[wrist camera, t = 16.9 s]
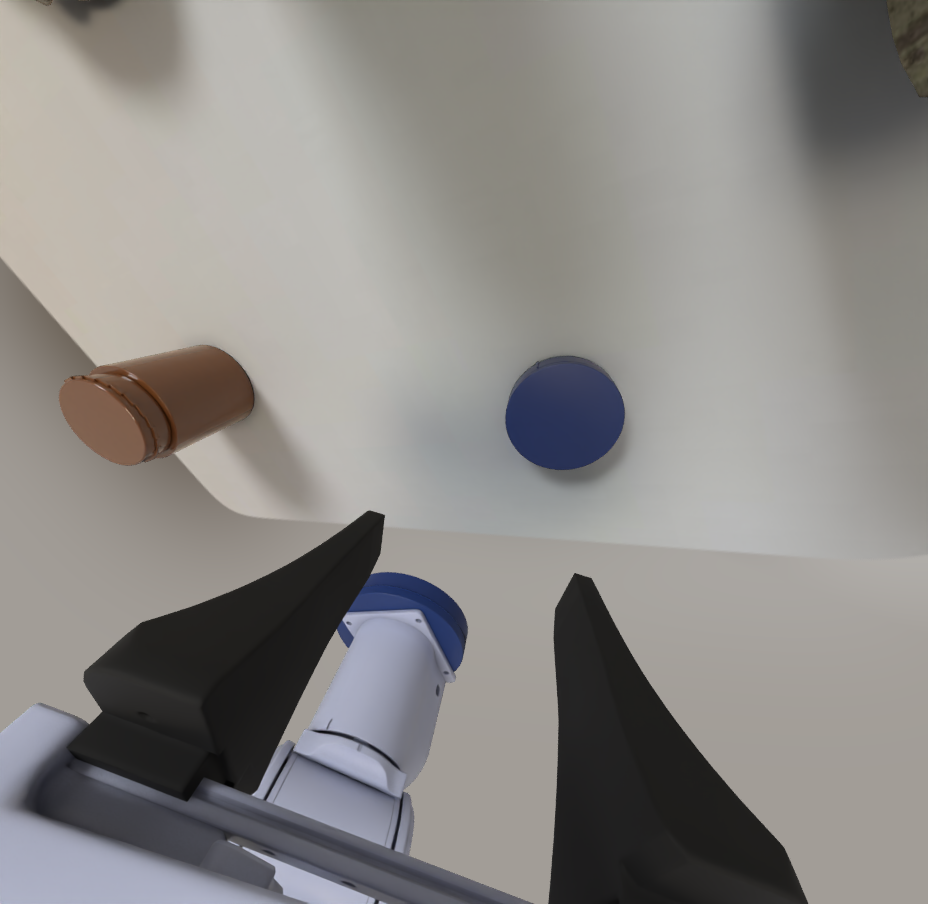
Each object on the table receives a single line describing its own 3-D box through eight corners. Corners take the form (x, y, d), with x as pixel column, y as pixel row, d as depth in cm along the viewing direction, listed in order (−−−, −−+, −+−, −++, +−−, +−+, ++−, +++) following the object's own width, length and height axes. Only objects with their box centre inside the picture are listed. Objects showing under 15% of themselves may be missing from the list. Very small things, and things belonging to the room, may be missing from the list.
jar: (268, 410, 23) (171, 459, 17) (216, 429, 24) (110, 479, 18) (221, 333, 21) (91, 357, 15) (167, 359, 22) (32, 391, 16)
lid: (489, 386, 19) (484, 395, 18) (592, 332, 17) (597, 338, 15) (535, 469, 21) (535, 484, 19) (634, 431, 18) (642, 445, 17)
